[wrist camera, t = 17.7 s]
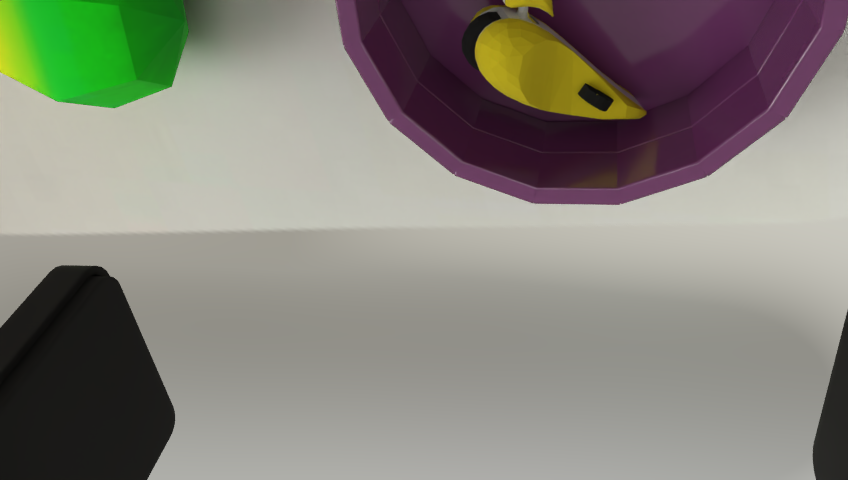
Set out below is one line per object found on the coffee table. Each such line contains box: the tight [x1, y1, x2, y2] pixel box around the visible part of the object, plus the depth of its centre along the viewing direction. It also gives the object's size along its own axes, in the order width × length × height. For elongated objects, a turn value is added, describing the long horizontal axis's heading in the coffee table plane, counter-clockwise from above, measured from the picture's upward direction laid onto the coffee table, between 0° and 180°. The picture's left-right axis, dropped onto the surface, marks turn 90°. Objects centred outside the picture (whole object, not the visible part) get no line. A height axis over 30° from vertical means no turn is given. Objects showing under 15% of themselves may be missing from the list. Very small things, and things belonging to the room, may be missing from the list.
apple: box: [0, 0, 189, 108], centre depth 26 cm, size 7×6×9 cm
